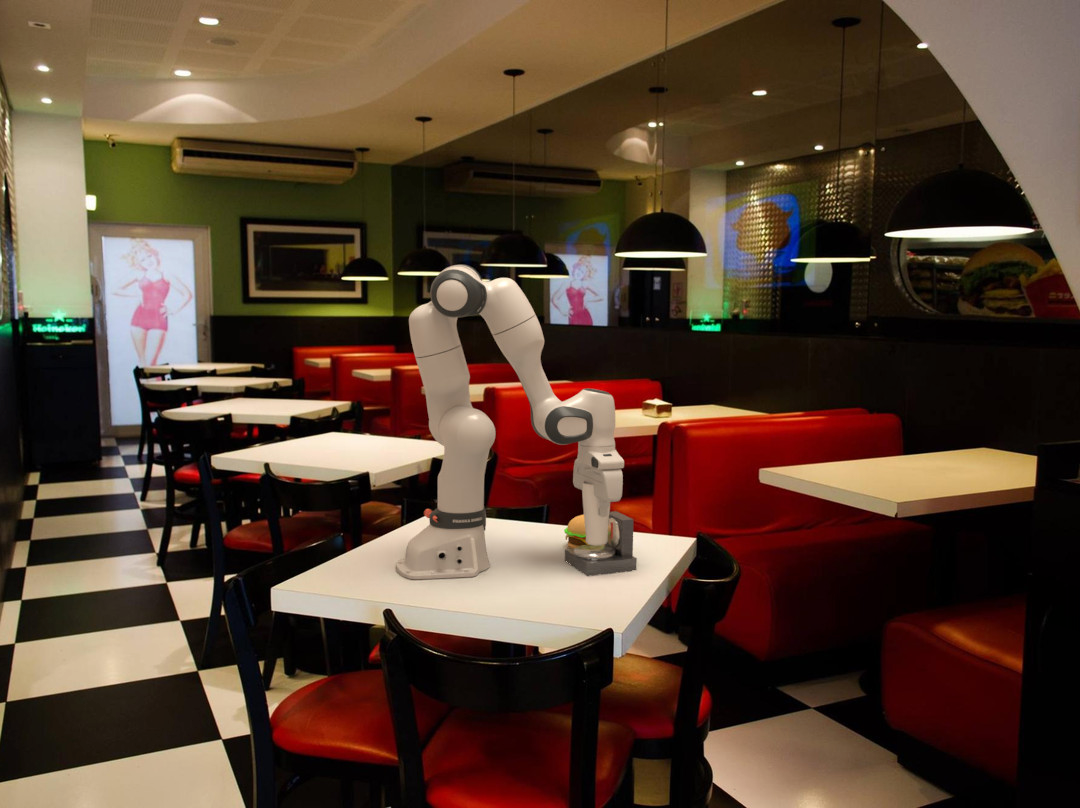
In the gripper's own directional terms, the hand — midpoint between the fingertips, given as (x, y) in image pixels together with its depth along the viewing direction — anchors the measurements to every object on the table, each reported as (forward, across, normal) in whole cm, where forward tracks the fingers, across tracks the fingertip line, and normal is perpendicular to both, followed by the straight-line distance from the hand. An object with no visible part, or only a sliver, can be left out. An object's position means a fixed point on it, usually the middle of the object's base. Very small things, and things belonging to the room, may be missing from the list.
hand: (595, 512), depth 204 cm
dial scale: (+13, 0, +1) cm, 13 cm away
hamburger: (+14, -16, +5) cm, 22 cm away
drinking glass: (+8, 0, 0) cm, 8 cm away
